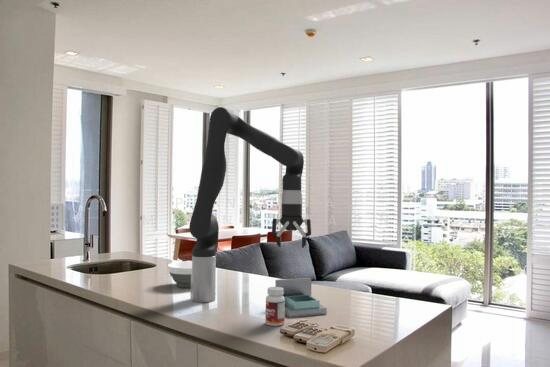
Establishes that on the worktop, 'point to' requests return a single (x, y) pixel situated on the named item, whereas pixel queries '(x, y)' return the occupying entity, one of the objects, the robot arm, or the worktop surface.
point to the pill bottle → (275, 306)
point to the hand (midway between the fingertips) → (291, 247)
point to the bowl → (181, 273)
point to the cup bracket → (299, 298)
